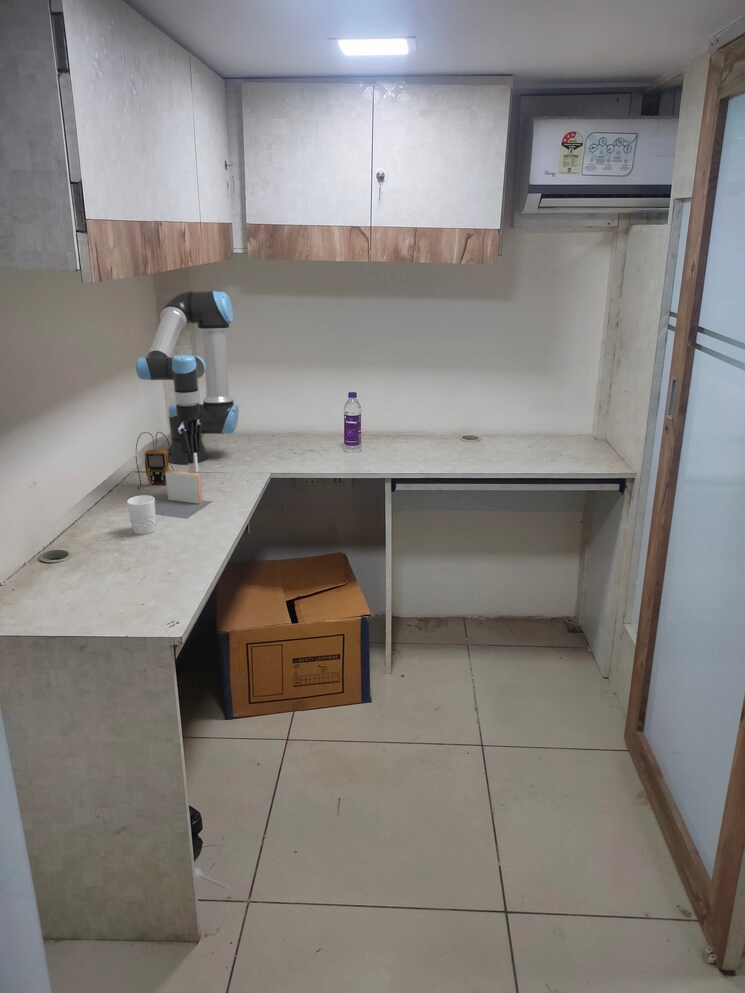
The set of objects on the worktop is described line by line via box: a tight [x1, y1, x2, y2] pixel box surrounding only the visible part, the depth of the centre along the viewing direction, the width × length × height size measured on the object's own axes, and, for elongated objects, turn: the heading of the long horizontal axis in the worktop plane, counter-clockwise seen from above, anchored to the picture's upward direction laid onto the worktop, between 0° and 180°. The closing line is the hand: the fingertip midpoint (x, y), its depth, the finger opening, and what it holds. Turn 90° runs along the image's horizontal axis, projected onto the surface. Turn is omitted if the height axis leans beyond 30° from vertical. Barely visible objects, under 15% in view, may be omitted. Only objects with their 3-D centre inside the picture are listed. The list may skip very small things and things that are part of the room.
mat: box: [155, 495, 213, 520], centre depth 236 cm, size 16×18×1 cm
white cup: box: [126, 495, 157, 535], centre depth 217 cm, size 8×8×10 cm
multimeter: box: [135, 431, 175, 491], centre depth 250 cm, size 15×10×20 cm
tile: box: [165, 469, 203, 504], centre depth 239 cm, size 2×12×10 cm, turn 72°
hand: (193, 471), depth 243 cm, fingers closed
